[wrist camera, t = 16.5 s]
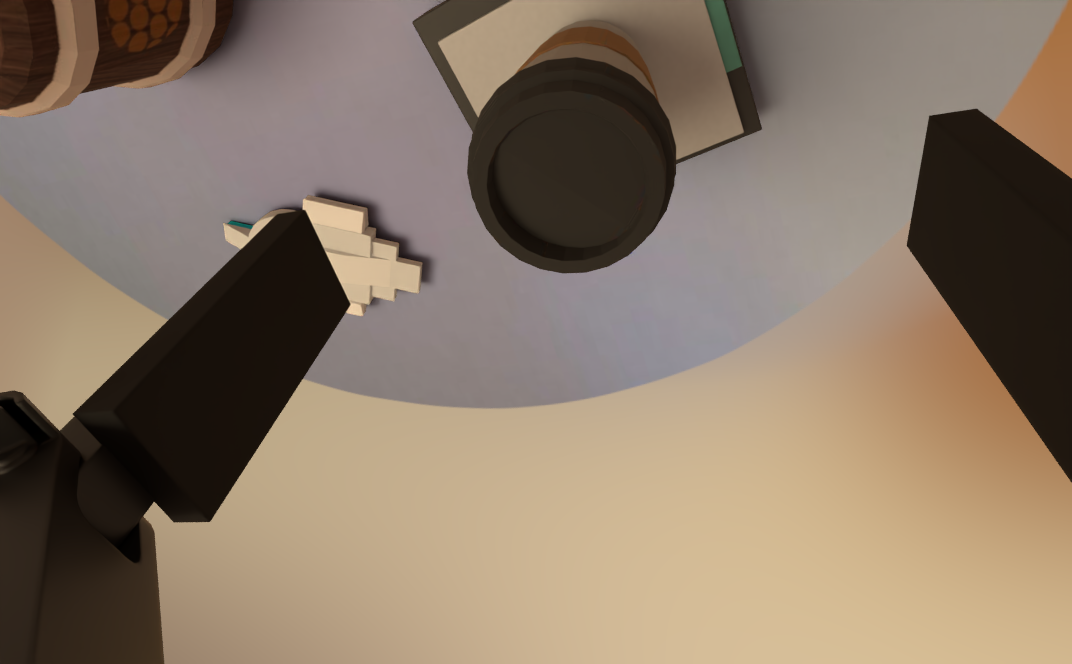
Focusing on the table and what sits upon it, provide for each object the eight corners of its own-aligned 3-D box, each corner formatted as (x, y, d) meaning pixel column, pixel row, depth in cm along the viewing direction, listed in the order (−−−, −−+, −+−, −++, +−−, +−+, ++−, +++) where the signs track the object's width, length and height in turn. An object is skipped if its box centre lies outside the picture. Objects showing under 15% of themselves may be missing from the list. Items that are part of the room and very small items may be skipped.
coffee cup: (607, 175, 38) (596, 316, 26) (492, 102, 36) (422, 217, 24) (695, 55, 33) (730, 160, 21) (566, -38, 31) (525, 21, 19)
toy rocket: (428, 217, 45) (420, 231, 43) (420, 317, 51) (412, 334, 49) (219, 169, 45) (202, 181, 43) (236, 276, 51) (221, 291, 49)
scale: (681, -140, 31) (686, -140, 28) (754, 113, 38) (764, 133, 35) (425, 12, 36) (408, 24, 34) (529, 206, 43) (522, 229, 41)
